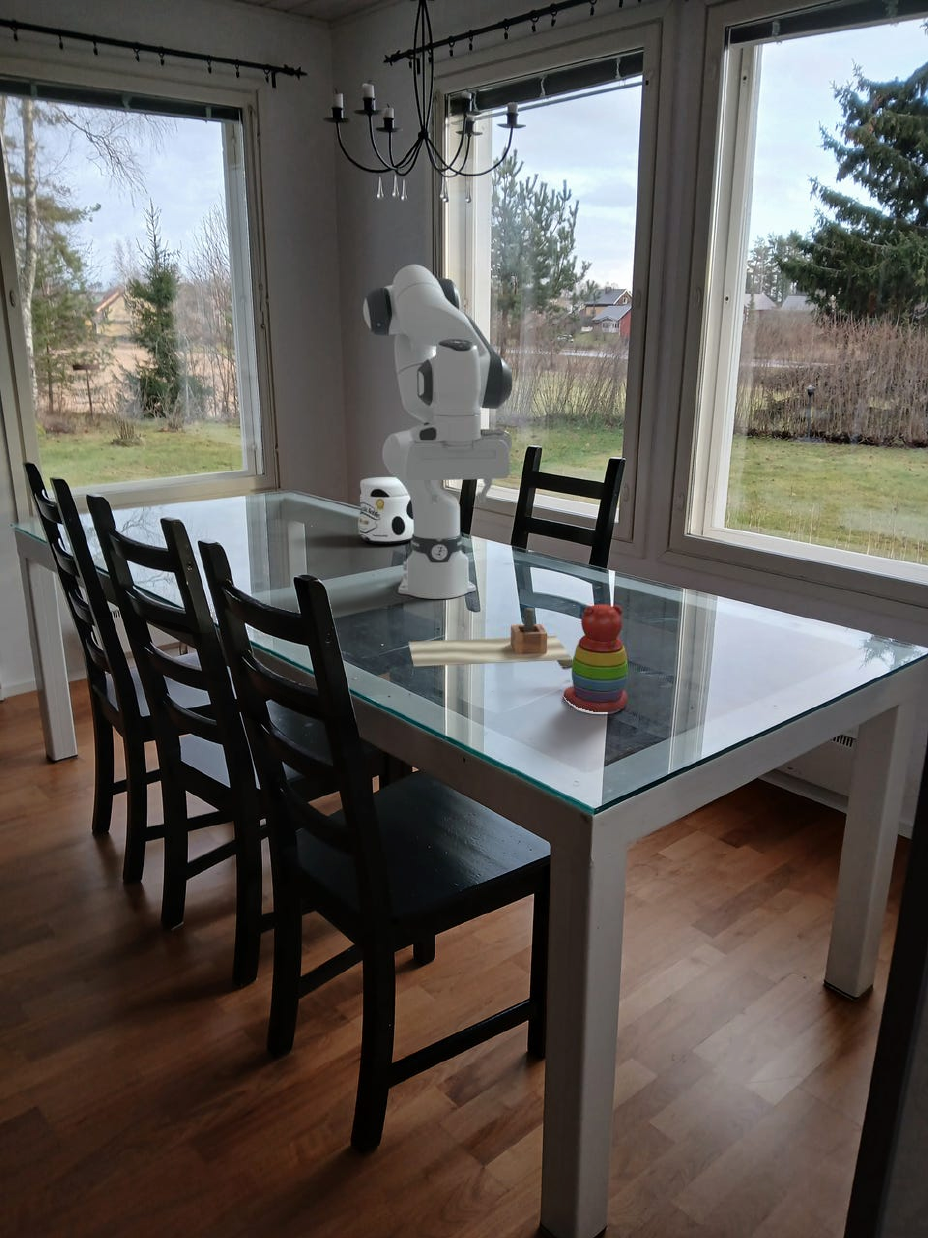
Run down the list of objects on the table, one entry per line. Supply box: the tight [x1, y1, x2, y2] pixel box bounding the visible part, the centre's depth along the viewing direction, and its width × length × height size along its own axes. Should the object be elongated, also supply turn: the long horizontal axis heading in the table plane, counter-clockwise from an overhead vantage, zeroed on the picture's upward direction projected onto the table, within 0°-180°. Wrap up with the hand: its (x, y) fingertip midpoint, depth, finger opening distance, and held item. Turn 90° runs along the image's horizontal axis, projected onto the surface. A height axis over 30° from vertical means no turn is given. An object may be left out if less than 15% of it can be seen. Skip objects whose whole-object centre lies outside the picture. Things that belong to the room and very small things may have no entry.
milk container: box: [357, 476, 414, 545], centre depth 278 cm, size 17×17×18 cm
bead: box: [510, 623, 548, 654], centre depth 183 cm, size 6×6×4 cm
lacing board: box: [407, 607, 573, 667], centre depth 182 cm, size 14×30×10 cm, turn 97°
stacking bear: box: [563, 603, 629, 712], centre depth 158 cm, size 11×10×18 cm
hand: (457, 502), depth 181 cm, fingers open, 8 cm apart
